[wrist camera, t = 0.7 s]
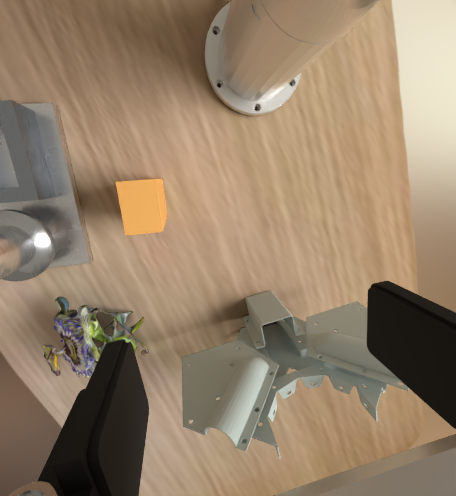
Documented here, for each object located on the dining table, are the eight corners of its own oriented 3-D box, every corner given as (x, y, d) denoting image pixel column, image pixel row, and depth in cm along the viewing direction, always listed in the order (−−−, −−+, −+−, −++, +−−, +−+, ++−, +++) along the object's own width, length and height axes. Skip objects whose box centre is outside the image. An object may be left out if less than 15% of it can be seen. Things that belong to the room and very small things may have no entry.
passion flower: (91, 305, 42) (24, 301, 31) (152, 288, 41) (106, 278, 30) (96, 378, 39) (24, 404, 27) (163, 362, 38) (117, 381, 26)
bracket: (187, 355, 42) (195, 501, 23) (175, 318, 40) (173, 447, 21) (338, 306, 45) (456, 400, 26) (335, 270, 43) (459, 343, 24)
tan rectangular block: (135, 180, 33) (115, 181, 23) (162, 179, 34) (155, 178, 23) (141, 218, 35) (125, 235, 24) (167, 215, 35) (162, 231, 25)
